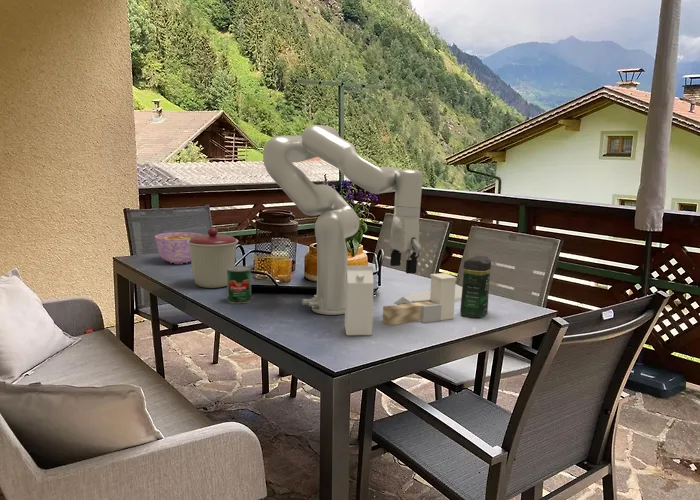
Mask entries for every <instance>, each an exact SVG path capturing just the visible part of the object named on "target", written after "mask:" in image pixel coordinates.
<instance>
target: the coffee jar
mask: <svg viewBox="0 0 700 500" xmlns="http://www.w3.org/2000/svg"><path fill="white" fill-rule="evenodd" d="M491 267H492V260H491V259H490V258H489V257H488V256H485V255H484V256H483V255H474V256H472V257H469V258H467V259H465V260H464V261H463V266H462V268H463V270H462V286H461V287H462V297H461V301H460V310H459V311H460V314H461V315H462V316H466V317H467V318H482V317H484V316H486V315H487V314H488V312H489V311H488V309H489V295H490V294H489V293H490V292H489V290H490V279H491V269H492V268H491Z"/></svg>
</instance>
